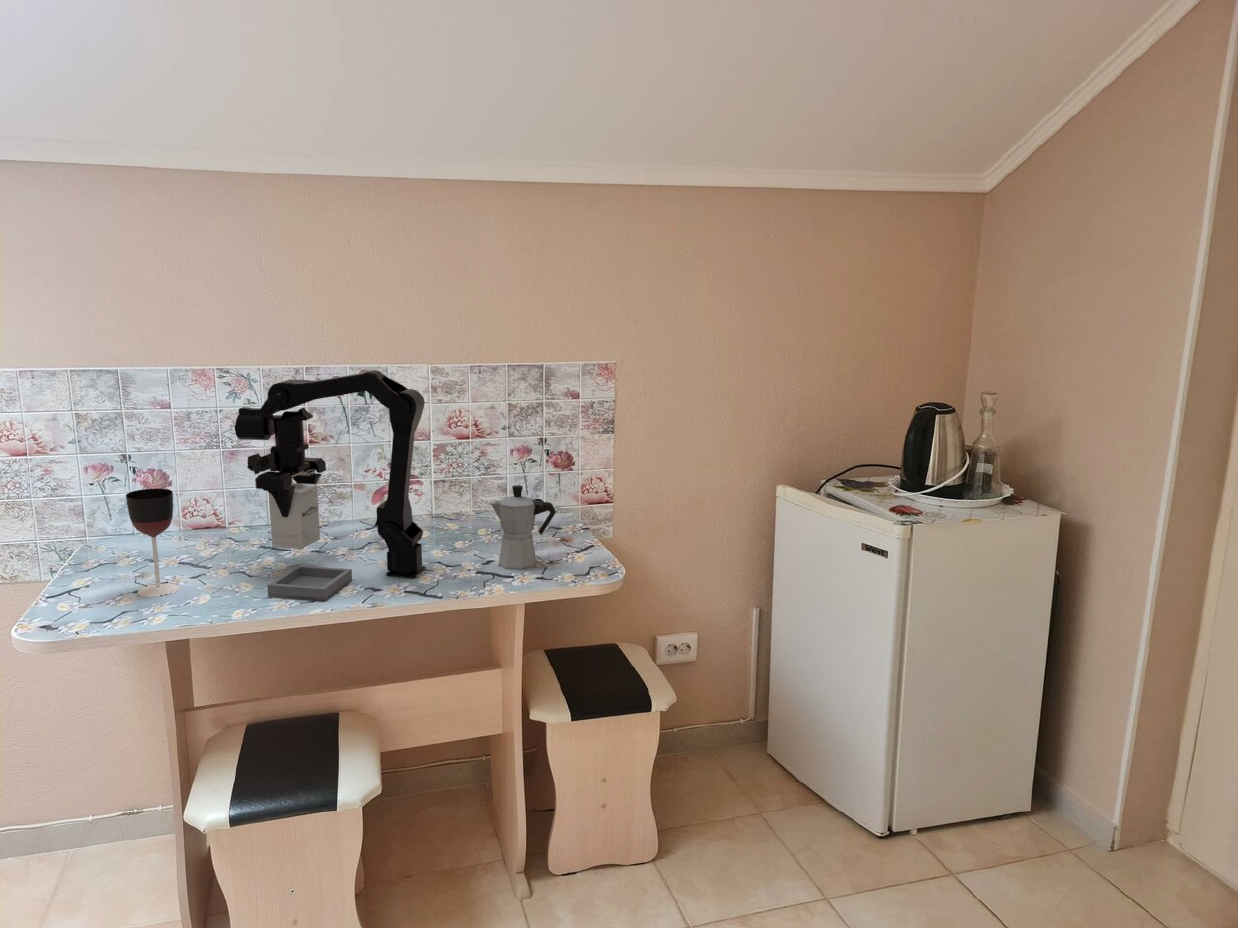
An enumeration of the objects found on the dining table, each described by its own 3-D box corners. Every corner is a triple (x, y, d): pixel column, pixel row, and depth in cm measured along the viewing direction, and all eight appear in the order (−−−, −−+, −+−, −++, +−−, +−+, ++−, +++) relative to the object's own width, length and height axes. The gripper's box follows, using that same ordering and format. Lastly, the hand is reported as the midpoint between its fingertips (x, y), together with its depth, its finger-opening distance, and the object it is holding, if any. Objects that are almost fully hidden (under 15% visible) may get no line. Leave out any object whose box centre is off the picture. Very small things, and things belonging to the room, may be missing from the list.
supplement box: (302, 550, 182) (298, 492, 179) (271, 547, 183) (266, 489, 181) (321, 539, 189) (318, 483, 186) (291, 537, 190) (287, 481, 188)
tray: (352, 580, 181) (351, 569, 181) (325, 601, 169) (324, 589, 169) (298, 576, 183) (298, 565, 182) (268, 596, 171) (267, 584, 171)
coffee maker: (485, 569, 190) (485, 489, 186) (492, 556, 199) (492, 480, 195) (553, 571, 190) (553, 492, 186) (557, 558, 198) (558, 482, 194)
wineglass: (169, 579, 179) (160, 486, 175) (188, 590, 174) (180, 493, 169) (128, 589, 173) (118, 493, 169) (147, 600, 168) (137, 501, 163)
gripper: (278, 431, 191) (283, 499, 195) (228, 447, 173) (234, 522, 177) (325, 433, 190) (329, 501, 193) (279, 450, 172) (285, 525, 175)
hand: (294, 512), depth 185 cm, fingers closed on supplement box, 7 cm apart
